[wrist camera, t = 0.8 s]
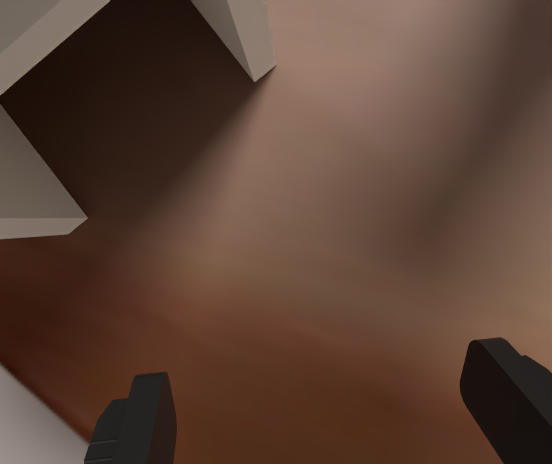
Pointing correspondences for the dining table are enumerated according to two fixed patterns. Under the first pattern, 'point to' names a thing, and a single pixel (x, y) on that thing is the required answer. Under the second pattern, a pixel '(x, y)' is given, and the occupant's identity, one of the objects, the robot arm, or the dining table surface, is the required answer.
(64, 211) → the tall white box
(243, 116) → the dining table surface
